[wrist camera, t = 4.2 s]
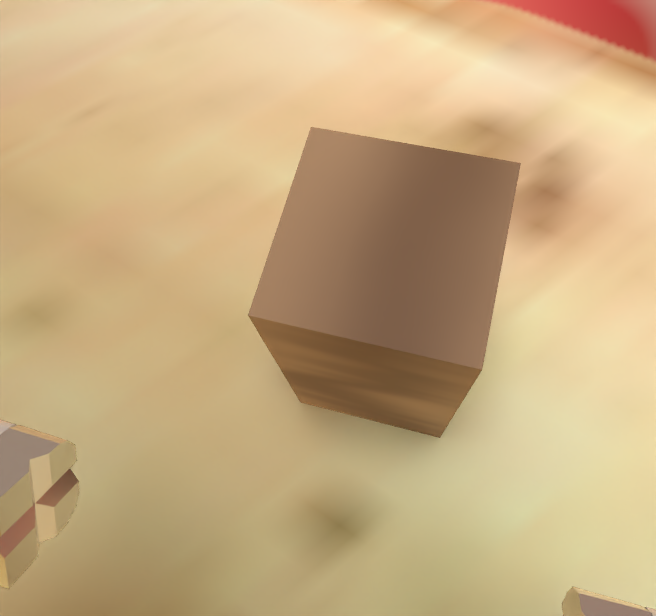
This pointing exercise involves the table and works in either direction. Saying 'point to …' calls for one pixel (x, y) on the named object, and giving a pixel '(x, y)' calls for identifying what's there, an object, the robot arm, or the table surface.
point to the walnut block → (385, 277)
